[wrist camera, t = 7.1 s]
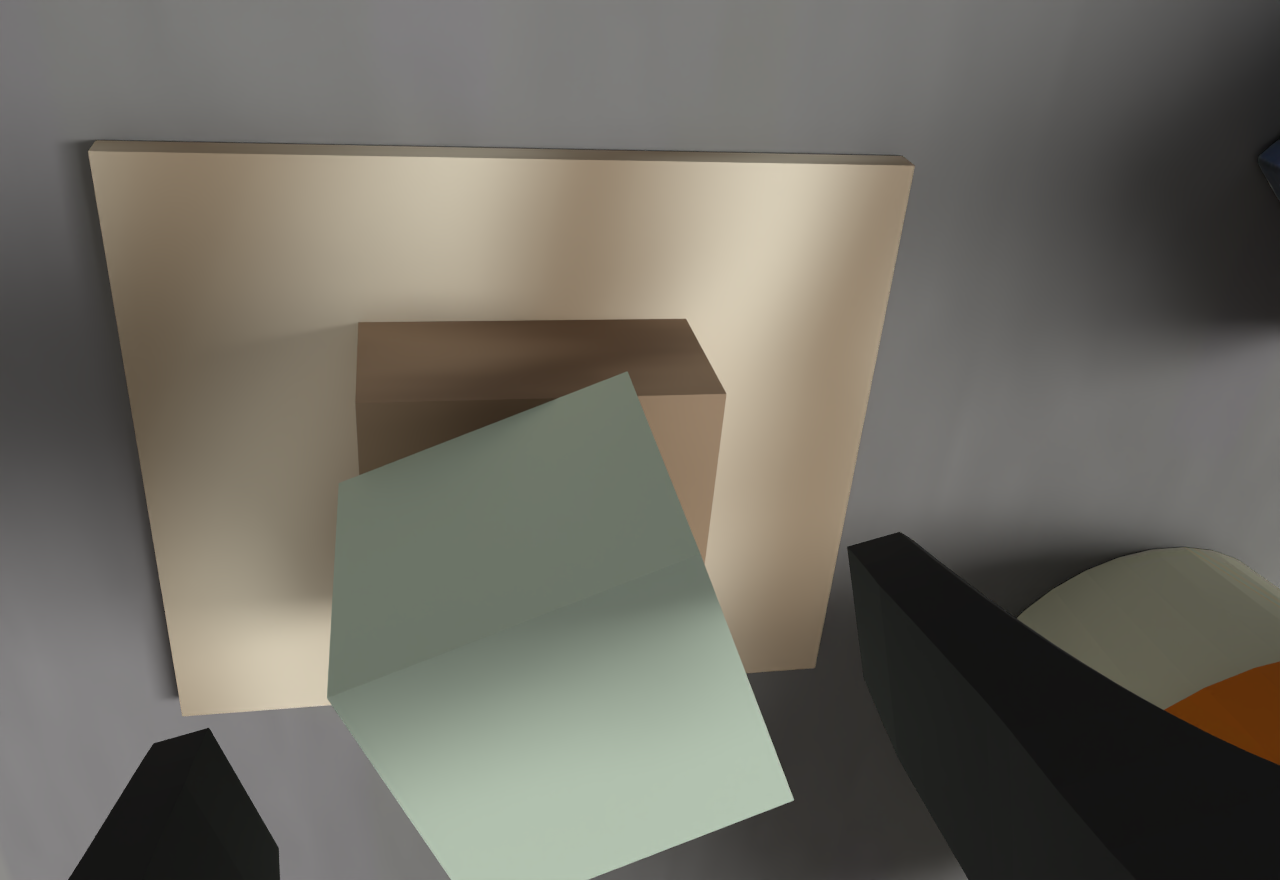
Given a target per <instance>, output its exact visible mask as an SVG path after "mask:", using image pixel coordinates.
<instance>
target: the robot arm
mask: <svg viewBox="0 0 1280 880" xmlns="http://www.w3.org/2000/svg"><path fill="white" fill-rule="evenodd" d="M847 549H848V557H849V565H850V573H851V580H852V588H853V596H854V604H855V612H856V620H857V628H858V636H859V644H860V652H861V660H862V668H863V675H864V680H865V682H866V684H867V687H868V689H869V692H870V694H871V696H872V699H873V701H874V703H875V706H876V708H877V710H878V713H879V715H880V718H881V720H882V722H883V725H884V727H885V729H886V731H887V734H888V736H889V738H890V740H891V743H892V745H893V747H894V749H895V752H896V754H897V756H898V758H899V760H900V762H901V763H902V765H903V767H904V769H905V771H906V772H907V774H908V776H909V778H910V779H911V781H912V783H913V785H914V786H915V788H916V790H917V791H918V793H919V795H920V797H921V798H922V800H923V802H924V804H925V805H926V807H927V809H928V811H929V812H930V814H931V816H932V818H933V819H934V821H935V823H936V824H937V826H938V828H939V830H940V831H941V833H942V835H943V836H944V838H945V840H946V842H947V843H948V845H949V847H950V848H951V850H952V852H953V854H954V855H955V857H956V859H957V861H958V862H959V864H960V866H961V867H962V869H963V871H964V873H965V874H966V876H967V878H968V879H969V880H1280V765H1278V764H1276V763H1273V762H1271V761H1269V760H1266V759H1264V758H1262V757H1259V756H1257V755H1254V754H1252V753H1250V752H1247V751H1245V750H1243V749H1241V748H1239V747H1237V746H1235V745H1232V744H1230V743H1228V742H1226V741H1224V740H1222V739H1220V738H1218V737H1215V736H1213V735H1211V734H1209V733H1207V732H1205V731H1203V730H1201V729H1199V728H1197V727H1196V726H1194V725H1192V724H1190V723H1188V722H1186V721H1184V720H1182V719H1180V718H1178V717H1176V716H1174V715H1172V714H1170V713H1168V712H1167V711H1165V710H1163V709H1161V708H1159V707H1157V706H1156V705H1154V704H1152V703H1150V702H1148V701H1147V700H1145V699H1143V698H1141V697H1139V696H1138V695H1136V694H1134V693H1133V692H1131V691H1129V690H1127V689H1126V688H1124V687H1122V686H1120V685H1119V684H1117V683H1115V682H1114V681H1112V680H1110V679H1109V678H1107V677H1106V676H1104V675H1102V674H1101V673H1099V672H1097V671H1096V670H1094V669H1092V668H1091V667H1089V666H1087V665H1086V664H1084V663H1082V662H1081V661H1079V660H1078V659H1076V658H1075V657H1073V656H1072V655H1070V654H1068V653H1067V652H1065V651H1064V650H1062V649H1061V648H1059V647H1058V646H1056V645H1055V644H1053V643H1052V642H1050V641H1049V640H1047V639H1046V638H1044V637H1043V636H1041V635H1040V634H1038V633H1037V632H1035V631H1034V630H1033V629H1031V628H1030V627H1028V626H1027V625H1025V624H1024V623H1022V622H1021V621H1019V620H1018V619H1016V618H1015V617H1014V616H1012V615H1011V614H1009V613H1008V612H1006V611H1005V610H1004V609H1002V608H1001V607H999V606H998V605H997V604H995V603H994V602H992V601H991V600H990V599H988V598H987V597H986V596H984V595H983V594H982V593H980V592H979V591H978V590H976V589H975V588H974V587H972V586H971V585H970V584H968V583H967V582H965V581H964V580H963V579H962V578H960V577H959V576H958V575H956V574H955V573H954V572H952V571H951V570H950V569H948V568H947V567H946V566H945V565H943V564H942V563H941V562H939V561H938V560H937V559H936V558H934V557H933V556H932V555H931V554H929V553H928V552H927V551H926V550H924V549H923V548H922V547H920V546H919V545H918V544H917V543H915V542H914V541H913V540H912V539H910V538H909V537H907V536H906V535H904V534H902V533H900V532H898V533H894V534H891V535H887V536H884V537H880V538H877V539H873V540H870V541H866V542H862V543H859V544H855V545H852V546H848V547H847ZM68 880H280V871H279V848H278V846H277V844H276V843H275V841H274V839H273V837H272V836H271V834H270V832H269V831H268V829H267V827H266V825H265V824H264V822H263V820H262V818H261V817H260V815H259V813H258V812H257V810H256V808H255V806H254V805H253V803H252V801H251V799H250V798H249V796H248V794H247V793H246V791H245V789H244V787H243V786H242V784H241V782H240V780H239V779H238V777H237V775H236V774H235V772H234V770H233V768H232V767H231V765H230V763H229V761H228V760H227V758H226V756H225V755H224V753H223V751H222V749H221V748H220V746H219V744H218V742H217V741H216V739H215V737H214V736H213V734H212V732H211V730H210V729H209V728H207V729H203V730H200V731H196V732H193V733H189V734H186V735H182V736H178V737H175V738H171V739H168V740H164V741H161V742H157V743H154V744H153V745H152V747H151V748H150V750H149V751H148V753H147V754H146V756H145V757H144V759H143V761H142V762H141V764H140V765H139V767H138V768H137V770H136V772H135V773H134V775H133V776H132V778H131V780H130V781H129V783H128V785H127V786H126V788H125V789H124V791H123V793H122V794H121V796H120V798H119V799H118V801H117V802H116V804H115V806H114V807H113V809H112V810H111V812H110V814H109V815H108V817H107V819H106V820H105V822H104V823H103V825H102V827H101V828H100V830H99V832H98V833H97V835H96V836H95V838H94V840H93V841H92V843H91V844H90V846H89V848H88V849H87V851H86V852H85V854H84V856H83V857H82V859H81V861H80V862H79V864H78V865H77V867H76V868H75V870H74V872H73V873H72V875H71V876H70V878H69V879H68Z"/></svg>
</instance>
